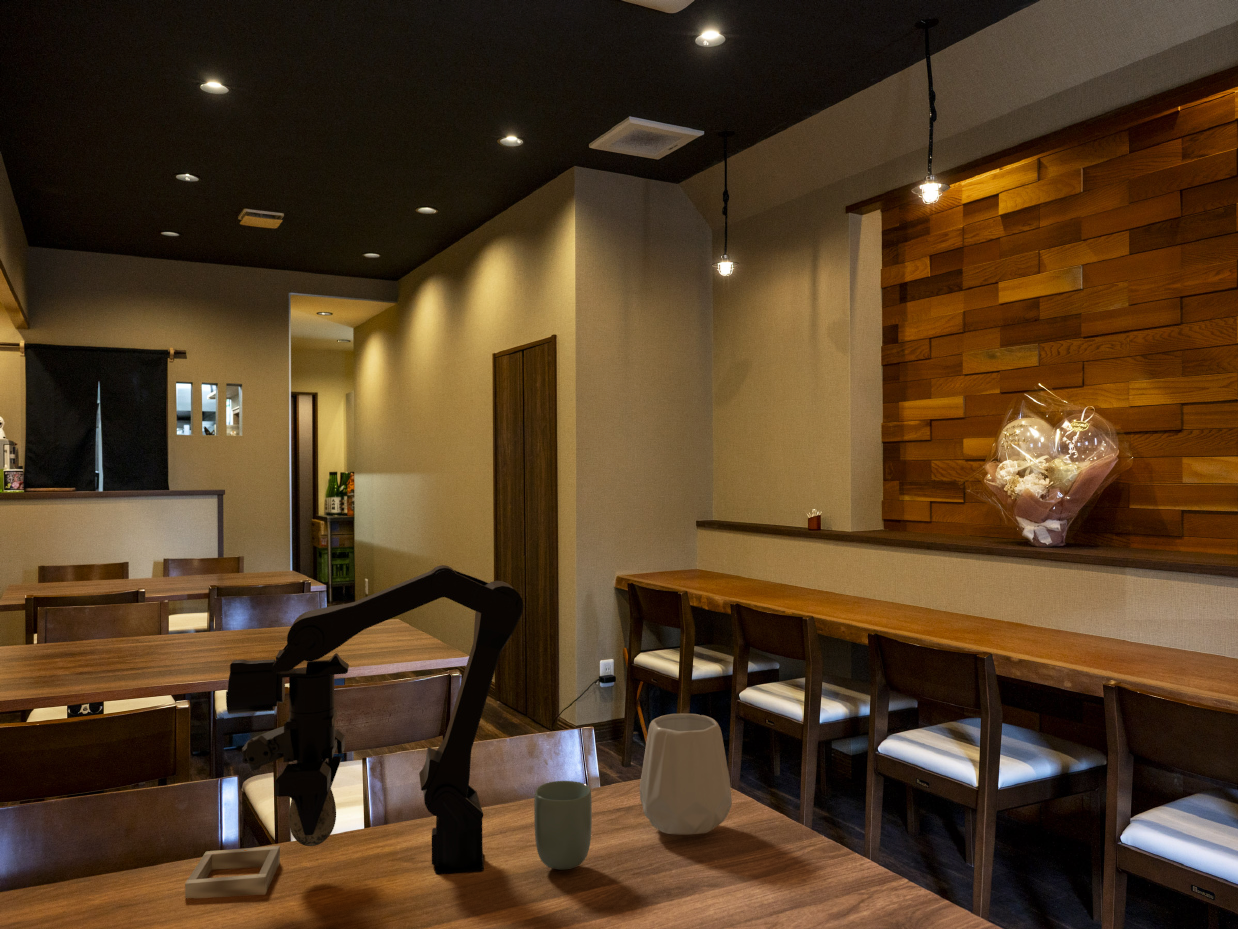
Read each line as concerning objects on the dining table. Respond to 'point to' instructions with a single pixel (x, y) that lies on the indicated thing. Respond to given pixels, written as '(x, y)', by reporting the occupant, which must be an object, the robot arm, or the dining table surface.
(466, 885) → the dining table surface
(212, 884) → the egg stand
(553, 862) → the cup
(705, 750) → the vase
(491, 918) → the dining table surface
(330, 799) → the decorative egg
